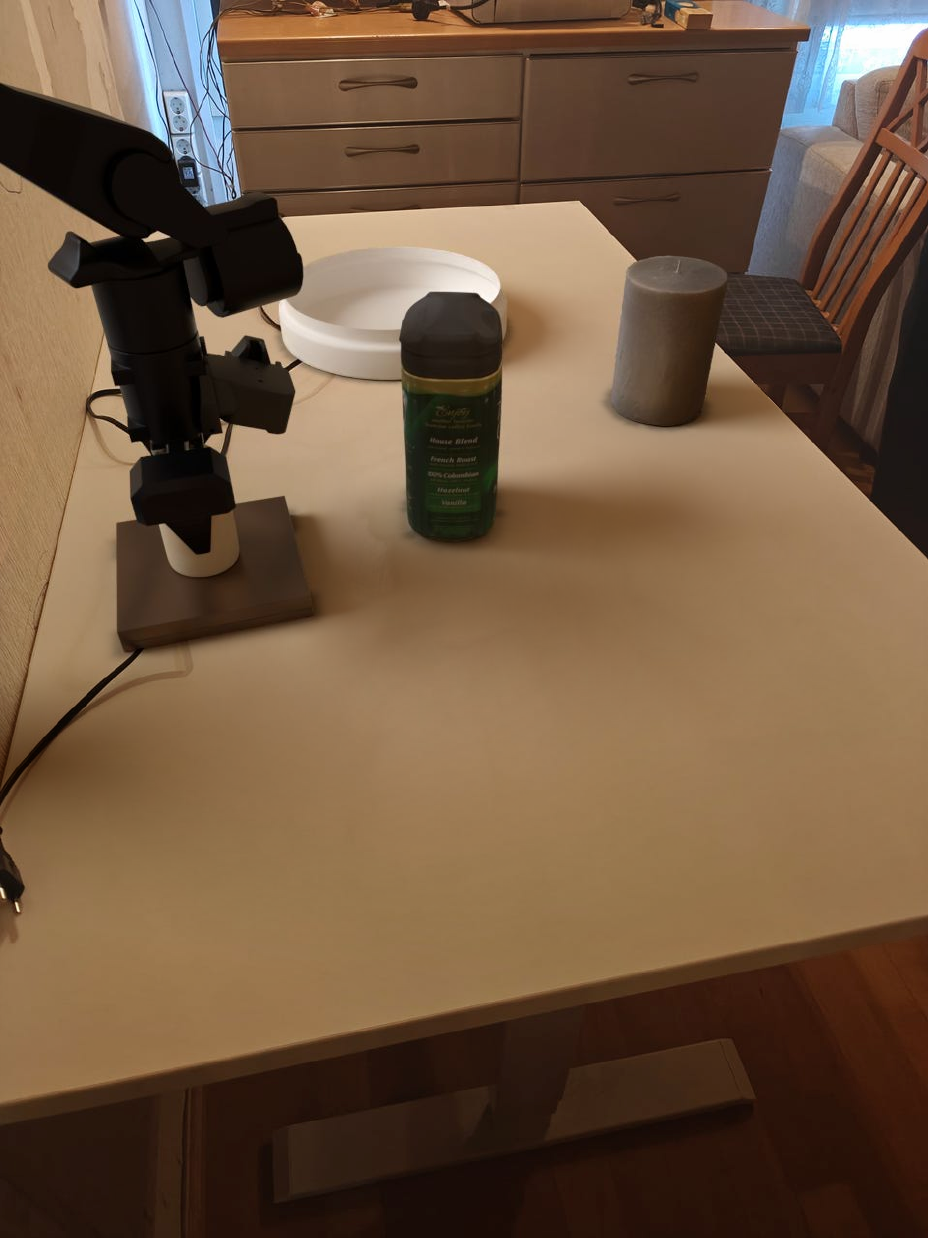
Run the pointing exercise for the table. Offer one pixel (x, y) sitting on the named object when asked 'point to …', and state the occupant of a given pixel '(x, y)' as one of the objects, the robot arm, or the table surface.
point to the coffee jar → (451, 414)
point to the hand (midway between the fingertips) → (200, 530)
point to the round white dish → (373, 305)
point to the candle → (209, 563)
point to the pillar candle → (667, 338)
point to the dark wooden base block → (210, 581)
